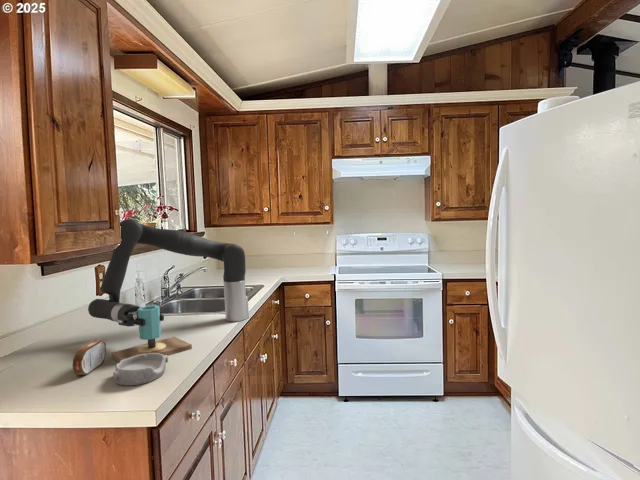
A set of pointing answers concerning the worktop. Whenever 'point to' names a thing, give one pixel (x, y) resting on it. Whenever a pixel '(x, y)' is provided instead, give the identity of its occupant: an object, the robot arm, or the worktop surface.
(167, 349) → the post stand
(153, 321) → the collar
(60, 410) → the worktop surface
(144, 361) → the dish
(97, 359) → the tin
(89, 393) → the worktop surface
